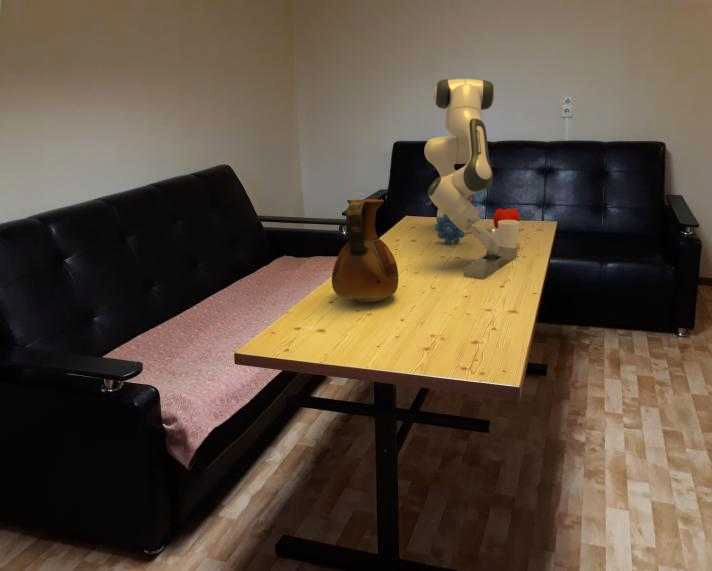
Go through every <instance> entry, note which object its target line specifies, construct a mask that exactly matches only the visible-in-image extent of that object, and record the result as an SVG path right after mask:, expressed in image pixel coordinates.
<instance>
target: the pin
mask: <svg viewBox="0 0 712 571" xmlns="http://www.w3.org/2000/svg"><path fill="white" fill-rule="evenodd" d="M486 230H487V231H488V232H489V234H490V235H491V236H492V238H493V241H494V242H495V243H496V244H497V247H496V248H495V249H493V248H492V247H491V246H490V245H486V246H485V254H486V259H489V260H498V246H499V241H498V240H499V229H497V228H495V227H488V228H487V229H486Z"/></svg>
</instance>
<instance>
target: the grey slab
mask: <svg viewBox="0 0 712 571" xmlns="http://www.w3.org/2000/svg"><path fill="white" fill-rule="evenodd" d="M517 257H518V248H508V247H498V260H489V259H486V253H485V254H484V255H481V257H479V258H477V259H475V260H474V261H472V262H471V263H469V264H467V265H466V266H464V267H463V277H466V278H472V277H474V278H475V279H481V280H485V279H486V278H487V276H488V277H489V276H491V275H492V274H493V272H494V273H495V272H497V271H498V270H499V269H501V268H503V267H504V266H505V265H507V264H509V263H510V262H512V261H513V260H515V258H517ZM496 270H497V271H496ZM490 274H491V275H490ZM474 278H473V279H474Z"/></svg>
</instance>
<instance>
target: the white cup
mask: <svg viewBox="0 0 712 571" xmlns="http://www.w3.org/2000/svg"><path fill="white" fill-rule="evenodd" d="M498 229H499V240H498V247H508V248H516V249H518V248H517V247H518V241H519V240H518V239H519V232H520V221H515V220H501V221H498Z"/></svg>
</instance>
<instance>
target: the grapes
mask: <svg viewBox="0 0 712 571" xmlns="http://www.w3.org/2000/svg"><path fill="white" fill-rule="evenodd" d="M436 223H438V224H436ZM436 223H435V224H434V225H433V229H434V228H435V229H434V230H435V232H437V237H438V238H439V239H440V240H443V239H444V242H445V243H446V244H448V245H450V244H451V243H452V242H453V243H454V244H458V243H459V242H460V241H461V240H460V238H461V239H462V238H464V237H465V233H464V232H463V231H462V230H460V229H459V228H458V227H457V226H456V225H455V224H454V223H453V222H452V221H451V220H450V219H449V217H448V216H447V215H446V214H444V215H443V218H442V217H437V216H436Z"/></svg>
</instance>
